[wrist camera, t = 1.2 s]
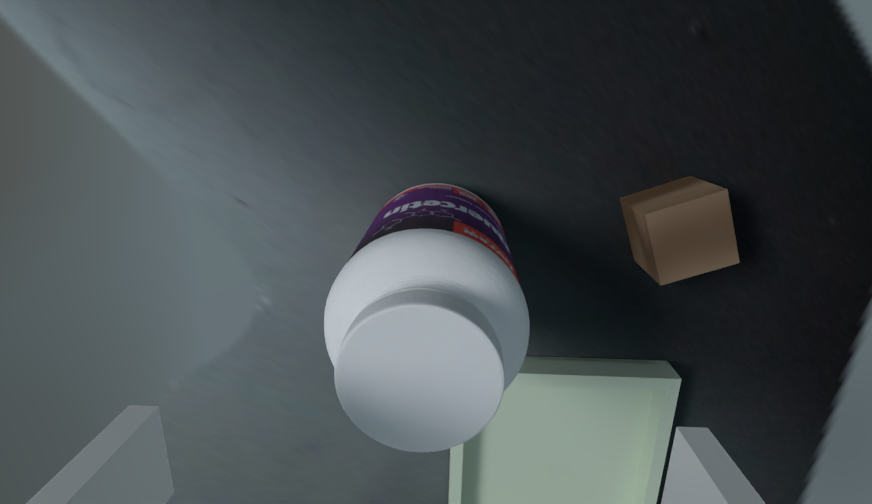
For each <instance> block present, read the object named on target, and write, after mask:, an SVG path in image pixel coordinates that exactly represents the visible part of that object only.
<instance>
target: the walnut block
mask: <svg viewBox="0 0 872 504" xmlns="http://www.w3.org/2000/svg"><path fill="white" fill-rule="evenodd" d="M620 202H621V206H622V210H623V215H624V219H625V223H626V227H627V232H628V236H629V240H630V244H631V249H632V253H633V257H634V261H635V262H636V263H637V264H638V265H639V266H641V267H642V268H643V269H644V270H645V271H646V272H647V273H648V274H649V275H650V276H651V277H652V278H653V279H654V280H655V281H656V282H657V283H658V284H659V285H664V284H668V283H671V282H675V281H678V280H682V279H685V278H689V277H692V276H696V275H699V274H703V273H706V272H710V271H713V270H717V269H720V268H724V267H727V266H730V265H734V264H737V263H740V262H739V256H738V249H737V243H736V237H735V231H734V225H733V219H732V213H731V207H730V201H729V195H728V189H726V188H723V187H720V186H717V185H715V184H712V183H709V182H706V181H704V180H701V179H698V178H695V177H693V176H688V177H685V178H682V179H678V180H675V181H672V182H669V183H666V184H663V185H660V186H656V187H653V188H650V189H647V190H644V191H641V192H637V193H634V194H631V195H628V196H625V197H622V198H620Z"/></svg>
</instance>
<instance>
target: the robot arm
mask: <svg viewBox="0 0 872 504" xmlns="http://www.w3.org/2000/svg"><path fill="white" fill-rule="evenodd" d="M173 493H174V488H173V483H172V477H171V472H170V466H169V461H168V455H167V450H166V445H165V439H164V434H163V428H162V423H161V417H160V412H159V406H135V405H129V406H128V407H127V408H126V409H125V410H124V411H123V412H122V413H121V414H120V415H119V416H117V418H115V419H114V420H113V421H112V422H111V423H110V424H109V425H108V426H107V427H106V428H105V429H104V430H103V431H102V432H101V433H100V434H99V435H97V437H95V438H94V439H93V440H92V441H91V442H90V443H89V444H88V445H87V446H86V447H85V448H84V449H83V450H82V451H81V452H80V453H79V454H78V455H76V456H75V457H74V459H72V460H71V461H70V462H69V463H68V464H67V465H66V466H65V467H64V468H63V469H62V470H61V471H60V472H59V473H58V474H57V475H55V476H54V477H53V479H51V480H50V481H49V482H48V483H47V484H46V485H45V486H44V487H43V488H42V489H41V490H40V491H39V492H38V493H37V494H36V495H35V496H34V497H32V498H31V499H30V501H28V502H27V503H26V504H166V503H167V502H168V500H169V499H170V498H171V496H172V495H173ZM661 504H765V502H764V501H763V500H762V498H761V497H760V496H759V494H758V493H757V492H756V491H755V489H754V488H753V487H752V485H751V484H750V483H749V481H748V480H747V479H746V477H745V476H744V475H743V473H742V472H741V471H740V469H739V468H738V467H737V466H736V464H735V463H734V462H733V460H732V459H731V458H730V456H729V455H728V454H727V452H726V451H725V450H724V448H723V447H722V446H721V444H720V443H719V442H718V441H717V439H716V438H715V437H714V435H713V434H712V433H711V431H710V430H709V429H708V428H699V427H676V432H675V437H674V442H673V447H672V452H671V457H670V462H669V467H668V472H667V476H666V481H665V486H664V491H663V496H662V501H661Z"/></svg>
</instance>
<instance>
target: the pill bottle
mask: <svg viewBox="0 0 872 504" xmlns="http://www.w3.org/2000/svg"><path fill="white" fill-rule="evenodd" d="M529 331H530V321H529V313H528V308H527V304H526V300H525V297H524V293H523V291H522V288H521V285H520V281H519V278H518V275H517V272H516V269H515V266H514V262H513V259H512V256H511V253H510V250H509V247H508V243H507V240H506V237H505V233H504V230H503V228H502V226H501V223H500V221H499V219H498V218H497V216H496V214H495V213H494V211H493V210H492V209H491V208H490V207H489V206H488V205H487V203H485V202H484V201H483V200H482V199H481V198H479V197H478V196H477V195H475V194H473V193H472V192H470V191H468V190H466V189H464V188H461V187H458V186H455V185H450V184H444V183H430V184H423V185H418V186H415V187H412V188H409V189H407V190H405V191H403V192H401V193H400V194H398V195H396V196H395V197H394V198H392V199H391V200H390V201H389V202H388V203H387V204H386V205H385V206H384V207H383V208H382V209H381V210H380V212H379V213H378V215H377V216H376V218H375V219H374V221H373V222H372V224H371V226H370V227H369V229H368V230H367V232H366V233H365V235H364V237H363V238H362V240H361V241H360V243H359V244H358V246H357V247H356V249H355V250H354V252H353V253H352V255H351V256H350V258H349V260H348V261H347V262H346V264H345V265H344V267H343V268H342V270H341V271H340V273H339V275H338V276H337V278H336V279H335V281H334V283H333V285H332V287H331V290H330V293H329V295H328V298H327V302H326V307H325V313H324V334H325V341H326V346H327V350H328V353H329V356H330V359H331V361H332V364H333V366H334V368H335V369H334V372H335V375H334V381H335V387H336V392H337V395H338V398H339V401H340V403H341V406H342V408H343V409H344V411H345V413H346V414H347V415H348V417H349V418H350V419H351V421H352V422H353V423H354V424H355V425H356V426H357V427H358V428H359V429H360V430H362V431H363V432H364V433H365V434H367V435H368V436H370V437H371V438H373V439H375V440H376V441H378V442H380V443H382V444H385V445H387V446H390V447H393V448H395V449H399V450H404V451H410V452H434V451H441V450H445V449H448V448H452V447H455V446H457V445H460V444H462V443H464V442H466V441H468V440H470V439H471V438H473V437H474V436H476V435H477V434H478V433H480V432H481V431H482V430H483V429H484V428H485V427H486V426H487V425H488V423H489V422H490V421H491V420H492V418H493V417H494V415H495V414H496V412H497V410H498V408H499V406H500V403H501V400H502V397H503V393H504V391H505V390H506V389H507V388H508V386H509V385H510V384H511V383H512V381H513V380H514V379H515V377H516V376H517V374H518V372H519V370H520V368H521V366H522V364H523V361H524V358H525V355H526V352H527V347H528V341H529Z"/></svg>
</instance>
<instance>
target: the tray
mask: <svg viewBox="0 0 872 504" xmlns="http://www.w3.org/2000/svg"><path fill="white" fill-rule="evenodd" d="M680 384H681V378H680V377H679V375H678V374H677V373H676V371H675V370H674V369H673V368H672V366H671V365H670V364H669V363H668V361H664V360H635V359H605V358H576V357H547V356H525V358H524V361H523V364H522V366H521V368H520V370H519V372H518V374H517V376H516V377H515V379H514V380H513V381H512V383H511V384H510V385H509V386H508V388H507V389H506V390H505V391H504V393H503V397H502V400H501V403H500V406H499V408H498V410H497V412H496V414H495V415H494V417H493V418H492V420H491V421H490V422H489V423H488V425H487V426H486V427H485V428H484V429H483V430H482V431H481V432H480V433H478V434H477V435H476V436H474V437H473V438H471V439H470V440H468V441H466V442H464V443H462V444H460V445H457V446H455V447H452V448H450V469H449V499H448V504H656V503H657V498H658V493H659V488H660V483H661V478H662V473H663V468H664V463H665V458H666V453H667V448H668V443H669V438H670V434H671V429H672V424H673V419H674V414H675V409H676V404H677V399H678V394H679V389H680Z"/></svg>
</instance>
